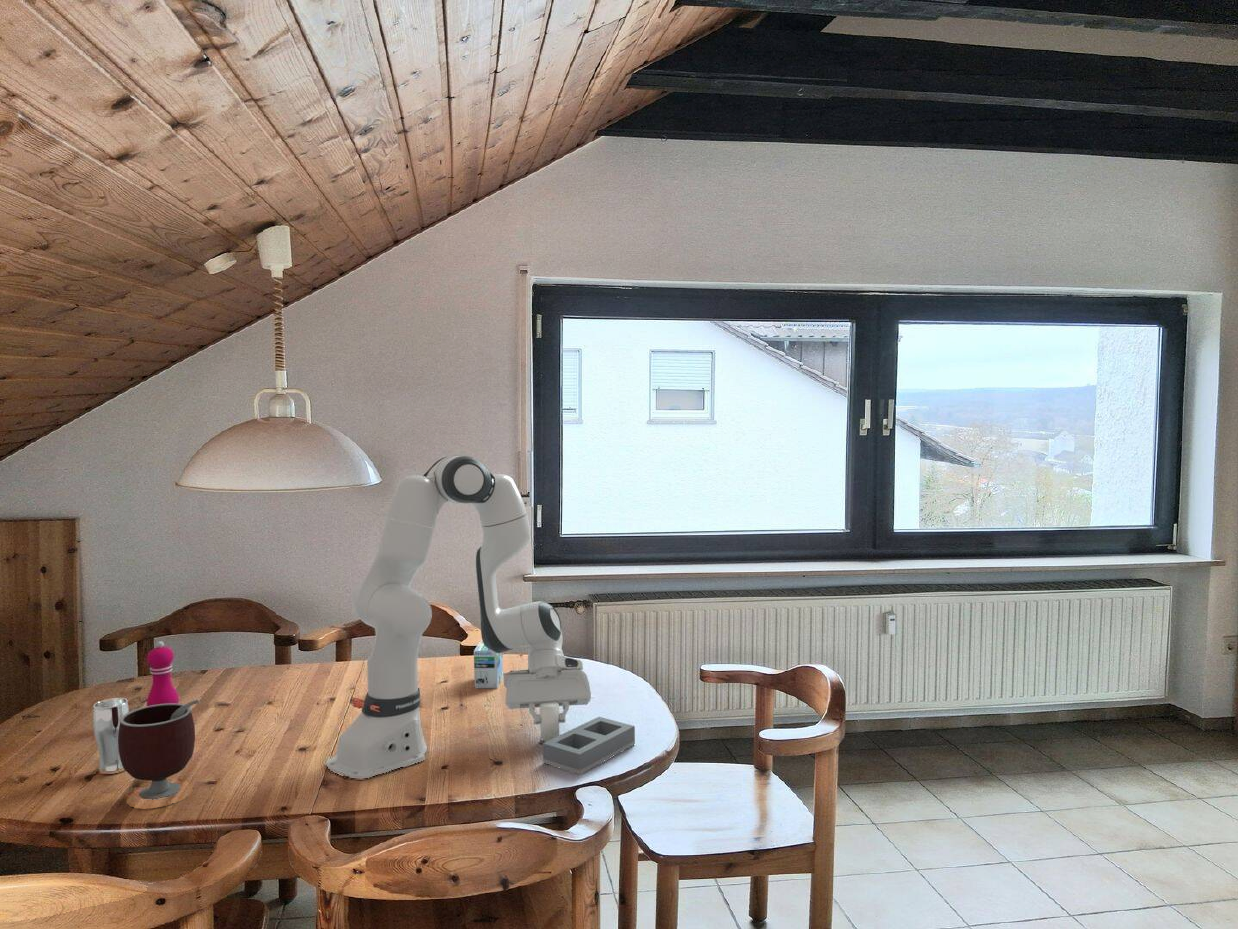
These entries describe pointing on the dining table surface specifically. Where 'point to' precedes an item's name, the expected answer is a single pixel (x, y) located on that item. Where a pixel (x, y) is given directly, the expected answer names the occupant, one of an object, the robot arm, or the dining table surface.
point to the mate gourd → (157, 745)
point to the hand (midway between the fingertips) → (549, 722)
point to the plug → (549, 720)
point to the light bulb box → (487, 667)
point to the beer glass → (109, 731)
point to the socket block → (588, 744)
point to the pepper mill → (161, 676)
